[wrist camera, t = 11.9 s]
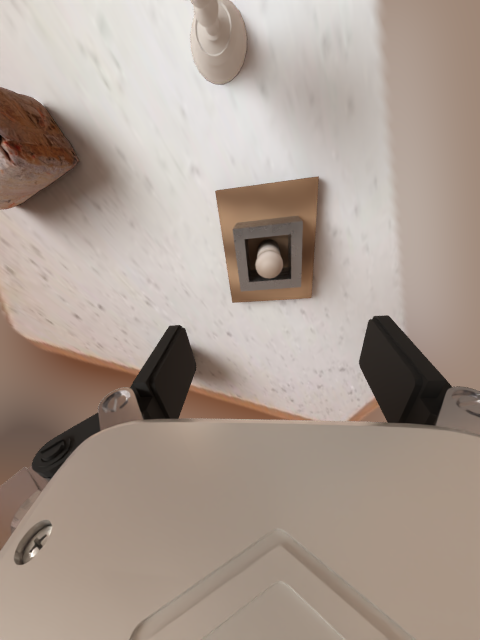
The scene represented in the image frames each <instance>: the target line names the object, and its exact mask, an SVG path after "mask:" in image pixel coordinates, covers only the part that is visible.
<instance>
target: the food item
mask: <svg viewBox="0 0 480 640" xmlns="http://www.w3.org/2000/svg"><path fill="white" fill-rule="evenodd" d="M77 162H79V160H78V158H77V156H76V154H75V152H74V151H73V147H72V146H71V144H70V143H69V141H68V140H67V139H66V138H65V137H64V135H63V134H62V132H61V131H60V129H59V128H58V126H57V125H56V123H55V122H54V120H53V119H52V117H51V116H50V114H49V113H48V111H47V110H46V109H45V108H44V106H43V105H42V104H41V103H40V102H38V101H37V100H35V99H34V98H32V97H29V96H26V95H22V94H17V93H15V92H13V91H10V90H8V89H5V88H2V87H0V210H1V209H9V208H12V207H15V206H17V205H19V204H21V203H23V202H25V201H26V200H27V199H29V198H30V197H32V196H33V195H34V194H36V193H37V192H38V191H40V190H41V189H43V188H45V187H47V186H48V185H50V184H52V183H53V182H54V181H55V180H57V179H58V178H60V177H61V176H62V175H64V174H65V173H66V172H68V171H69V170H70V169H72V168H73V167H74V166H75V165H76V164H77Z"/></svg>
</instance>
